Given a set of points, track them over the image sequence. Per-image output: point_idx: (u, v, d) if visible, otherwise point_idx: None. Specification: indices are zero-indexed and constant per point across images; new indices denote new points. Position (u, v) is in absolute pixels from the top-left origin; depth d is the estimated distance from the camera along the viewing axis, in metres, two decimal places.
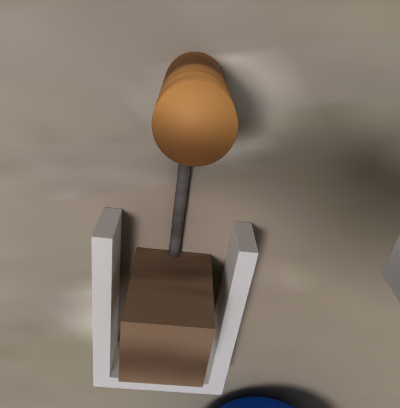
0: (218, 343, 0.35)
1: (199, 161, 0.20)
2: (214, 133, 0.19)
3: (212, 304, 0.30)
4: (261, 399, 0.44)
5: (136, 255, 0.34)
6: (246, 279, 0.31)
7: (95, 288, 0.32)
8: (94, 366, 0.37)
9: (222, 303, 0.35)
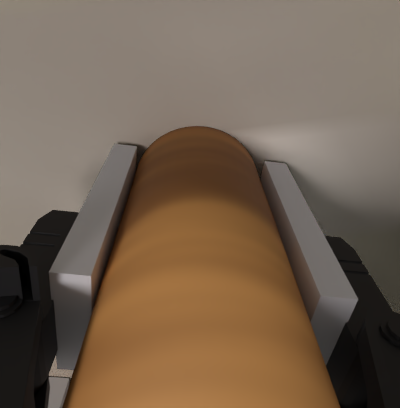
0: None
1: None
2: None
3: None
4: None
5: None
6: None
7: None
8: None
9: None
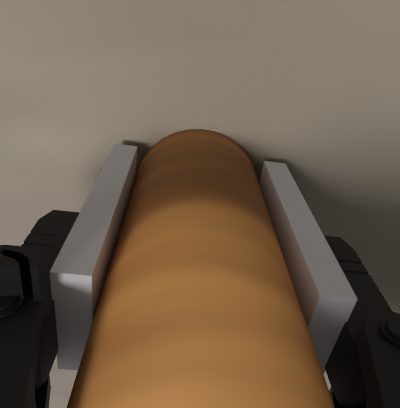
0: None
1: None
2: None
3: None
4: None
5: None
6: None
7: None
8: None
9: None
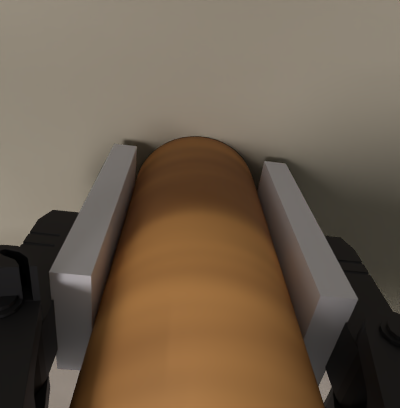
0: None
1: None
2: None
3: None
4: None
5: None
6: None
7: None
8: None
9: None
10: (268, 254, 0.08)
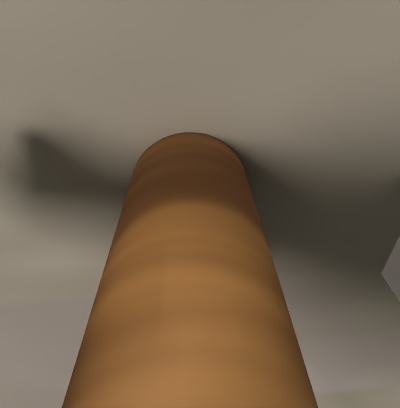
0: None
1: None
2: None
3: None
4: None
5: None
6: None
7: None
8: None
9: None
10: (259, 243, 0.09)
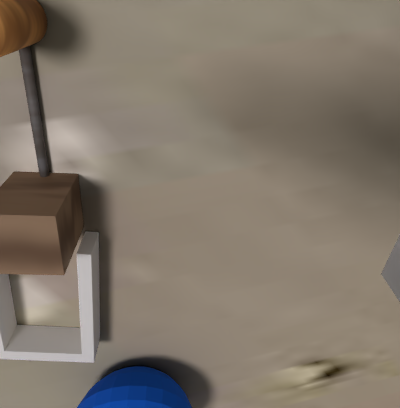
0: (80, 322, 0.47)
1: None
2: None
3: (61, 202, 0.36)
4: (136, 367, 0.57)
5: (10, 176, 0.41)
6: (87, 273, 0.44)
7: None
8: None
9: None
10: (12, 2, 0.29)
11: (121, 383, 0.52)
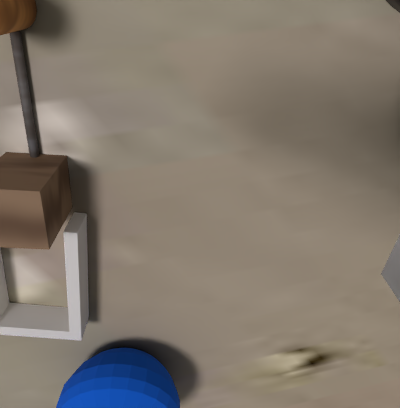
0: (68, 299, 0.50)
1: None
2: None
3: (46, 180, 0.39)
4: (124, 348, 0.59)
5: (2, 156, 0.43)
6: (74, 251, 0.46)
7: None
8: None
9: None
10: None
11: (107, 361, 0.54)
